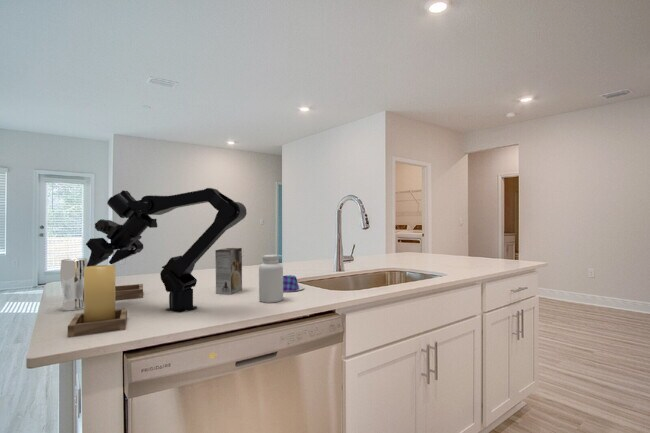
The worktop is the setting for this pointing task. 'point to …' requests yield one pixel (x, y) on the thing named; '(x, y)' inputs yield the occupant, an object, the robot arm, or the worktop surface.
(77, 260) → the beer glass
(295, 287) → the plaid hat
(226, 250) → the coffee box
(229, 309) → the worktop surface
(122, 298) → the empty pocket
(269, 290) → the pill bottle
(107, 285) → the cream pillar candle
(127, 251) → the robot arm
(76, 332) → the brown square tray piece
